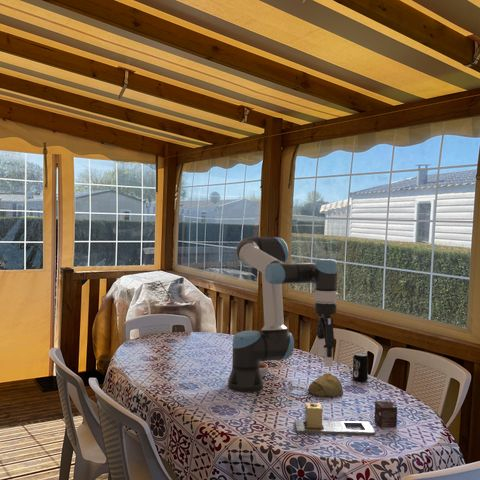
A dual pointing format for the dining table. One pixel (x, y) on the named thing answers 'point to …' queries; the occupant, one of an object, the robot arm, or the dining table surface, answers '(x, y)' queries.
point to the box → (385, 414)
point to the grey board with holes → (336, 428)
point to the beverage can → (360, 367)
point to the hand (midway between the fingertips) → (324, 361)
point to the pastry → (326, 386)
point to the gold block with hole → (313, 416)
